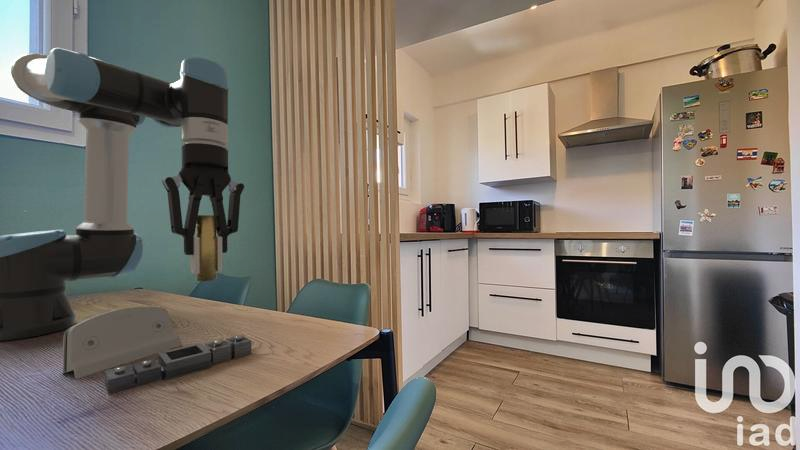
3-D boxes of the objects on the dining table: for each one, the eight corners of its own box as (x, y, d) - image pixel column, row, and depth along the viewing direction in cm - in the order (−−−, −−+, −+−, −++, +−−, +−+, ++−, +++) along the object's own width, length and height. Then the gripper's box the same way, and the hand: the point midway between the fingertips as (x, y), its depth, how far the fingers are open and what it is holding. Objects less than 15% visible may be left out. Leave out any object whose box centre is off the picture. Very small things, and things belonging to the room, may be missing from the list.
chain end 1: (104, 381, 52) (104, 364, 52) (200, 357, 61) (200, 342, 61) (108, 396, 47) (108, 378, 47) (211, 367, 56) (211, 352, 56)
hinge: (73, 379, 52) (64, 317, 54) (61, 383, 54) (52, 324, 56) (183, 345, 67) (173, 297, 69) (170, 349, 69) (161, 302, 71)
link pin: (194, 279, 62) (194, 215, 62) (213, 277, 64) (212, 215, 64) (200, 281, 60) (199, 215, 60) (219, 279, 62) (218, 215, 62)
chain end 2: (158, 367, 56) (157, 349, 56) (240, 346, 66) (240, 330, 66) (166, 380, 52) (166, 359, 52) (253, 355, 62) (253, 338, 62)
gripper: (157, 133, 53) (158, 279, 53) (257, 150, 65) (258, 268, 65) (147, 142, 58) (148, 274, 58) (242, 155, 70) (242, 265, 70)
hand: (206, 271), depth 62 cm, fingers closed on link pin, 3 cm apart
